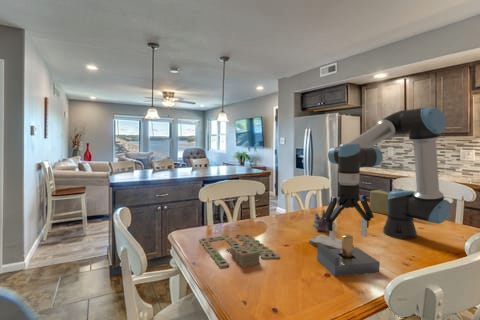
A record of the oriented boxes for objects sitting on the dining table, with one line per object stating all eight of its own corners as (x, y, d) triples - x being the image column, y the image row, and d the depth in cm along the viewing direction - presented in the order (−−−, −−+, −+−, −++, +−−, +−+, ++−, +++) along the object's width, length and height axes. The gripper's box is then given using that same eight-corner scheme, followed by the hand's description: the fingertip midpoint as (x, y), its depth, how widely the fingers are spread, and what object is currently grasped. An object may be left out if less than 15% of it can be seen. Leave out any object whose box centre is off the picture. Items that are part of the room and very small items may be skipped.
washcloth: (319, 238, 135) (319, 232, 135) (354, 248, 123) (354, 241, 123) (307, 244, 127) (307, 238, 126) (344, 256, 114) (344, 249, 114)
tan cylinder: (348, 263, 106) (349, 234, 106) (354, 267, 102) (355, 237, 102) (339, 263, 106) (339, 234, 105) (344, 268, 102) (345, 238, 101)
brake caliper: (334, 229, 140) (320, 210, 142) (317, 239, 144) (304, 220, 147) (337, 223, 150) (324, 205, 152) (321, 233, 154) (309, 215, 157)
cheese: (408, 218, 170) (409, 194, 169) (398, 219, 166) (399, 196, 165) (378, 209, 190) (379, 189, 189) (368, 211, 186) (369, 190, 185)
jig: (356, 256, 113) (357, 240, 112) (379, 272, 99) (379, 254, 98) (317, 259, 109) (317, 243, 109) (334, 276, 96) (335, 257, 95)
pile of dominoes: (283, 259, 111) (283, 247, 110) (222, 272, 100) (222, 258, 99) (247, 233, 142) (247, 223, 142) (198, 241, 131) (198, 230, 131)
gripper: (323, 186, 96) (323, 243, 98) (384, 183, 100) (383, 238, 102) (314, 183, 103) (314, 236, 105) (371, 180, 108) (370, 231, 109)
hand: (348, 237), depth 104 cm, fingers open, 13 cm apart
